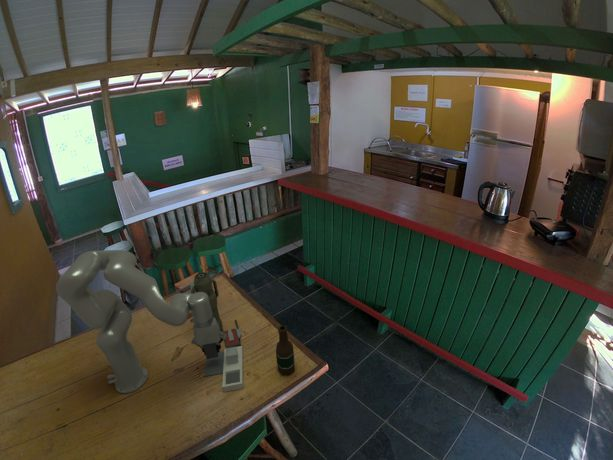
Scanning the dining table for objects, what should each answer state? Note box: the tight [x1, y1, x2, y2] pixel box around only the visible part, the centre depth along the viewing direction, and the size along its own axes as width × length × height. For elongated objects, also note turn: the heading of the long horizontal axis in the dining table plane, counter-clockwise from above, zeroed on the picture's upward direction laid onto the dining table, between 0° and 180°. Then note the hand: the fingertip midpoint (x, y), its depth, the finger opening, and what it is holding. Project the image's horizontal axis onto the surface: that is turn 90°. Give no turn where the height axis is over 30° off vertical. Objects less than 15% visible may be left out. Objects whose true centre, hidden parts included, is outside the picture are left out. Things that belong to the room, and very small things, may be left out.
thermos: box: [191, 271, 224, 332], centre depth 150 cm, size 9×12×35 cm
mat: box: [203, 350, 224, 378], centre depth 141 cm, size 8×12×1 cm, turn 11°
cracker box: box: [174, 272, 199, 320], centre depth 169 cm, size 14×6×21 cm, turn 139°
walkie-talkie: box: [223, 319, 243, 349], centre depth 154 cm, size 9×4×20 cm
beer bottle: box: [275, 325, 296, 376], centre depth 132 cm, size 8×8×24 cm
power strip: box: [221, 345, 244, 393], centre depth 136 cm, size 8×20×8 cm, turn 11°
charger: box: [203, 343, 219, 359], centre depth 136 cm, size 5×5×8 cm
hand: (212, 350), depth 137 cm, fingers closed on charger, 5 cm apart
